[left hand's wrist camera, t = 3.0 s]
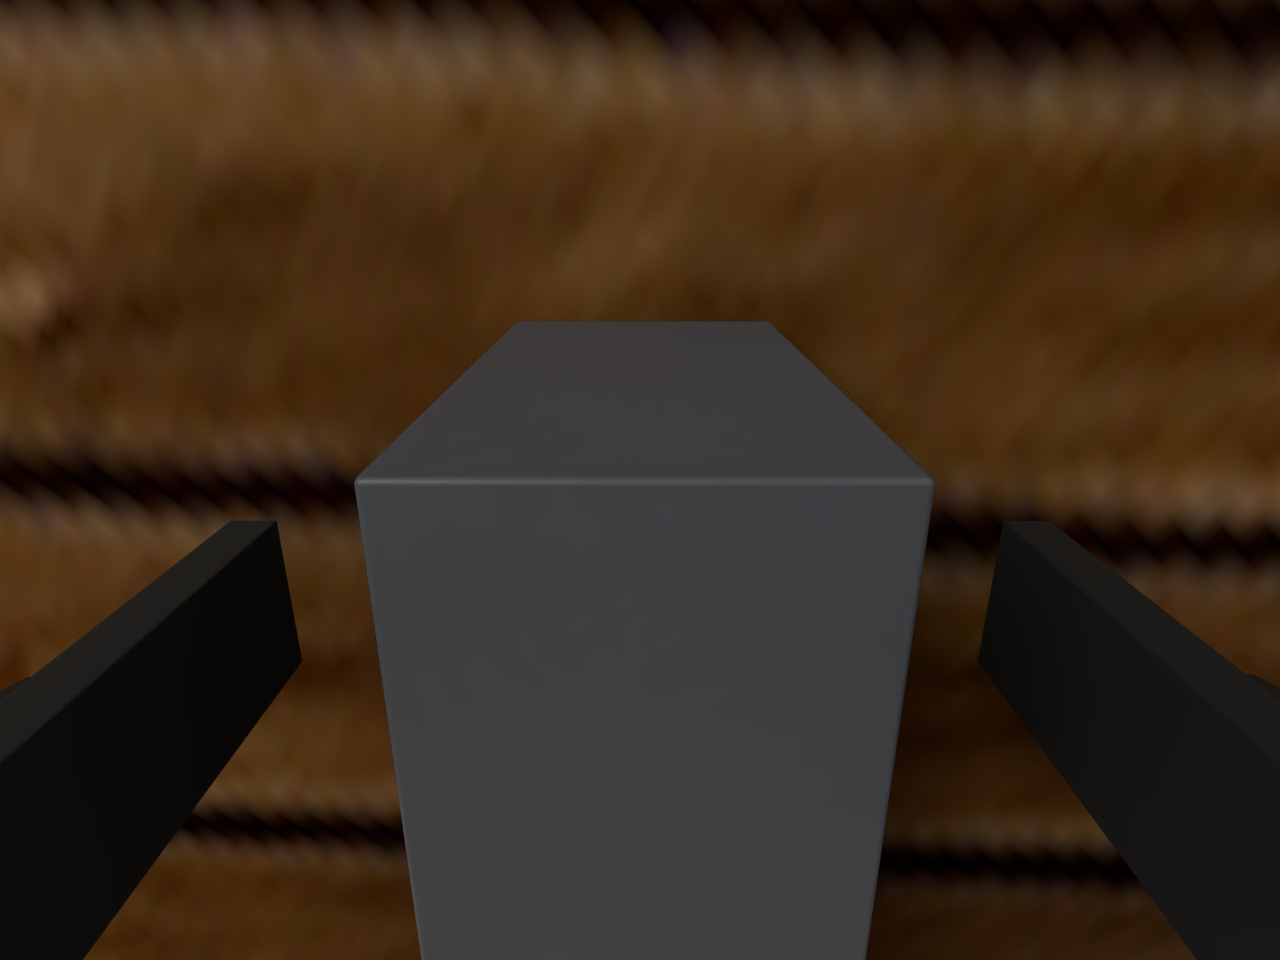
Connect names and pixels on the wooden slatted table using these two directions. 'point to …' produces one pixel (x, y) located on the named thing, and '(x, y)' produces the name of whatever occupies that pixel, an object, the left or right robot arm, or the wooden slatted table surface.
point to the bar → (644, 646)
